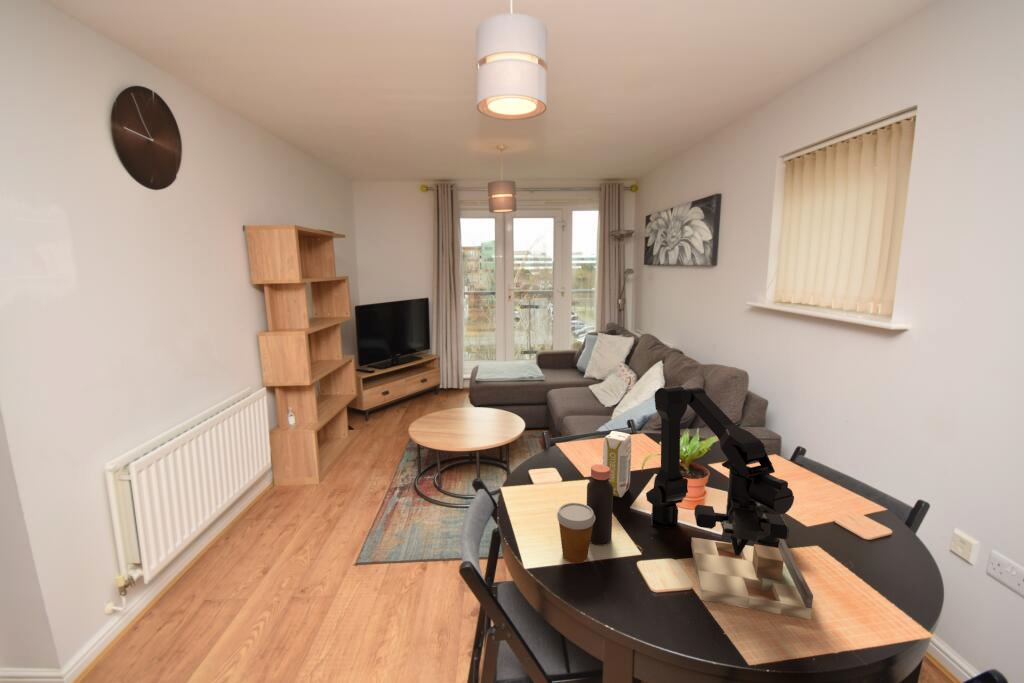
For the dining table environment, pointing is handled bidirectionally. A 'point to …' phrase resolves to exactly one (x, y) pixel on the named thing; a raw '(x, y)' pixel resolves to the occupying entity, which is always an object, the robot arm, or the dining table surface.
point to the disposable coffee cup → (575, 531)
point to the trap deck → (749, 580)
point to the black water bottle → (600, 504)
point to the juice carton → (618, 460)
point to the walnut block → (767, 562)
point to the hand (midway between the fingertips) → (736, 554)
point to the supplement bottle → (760, 512)
